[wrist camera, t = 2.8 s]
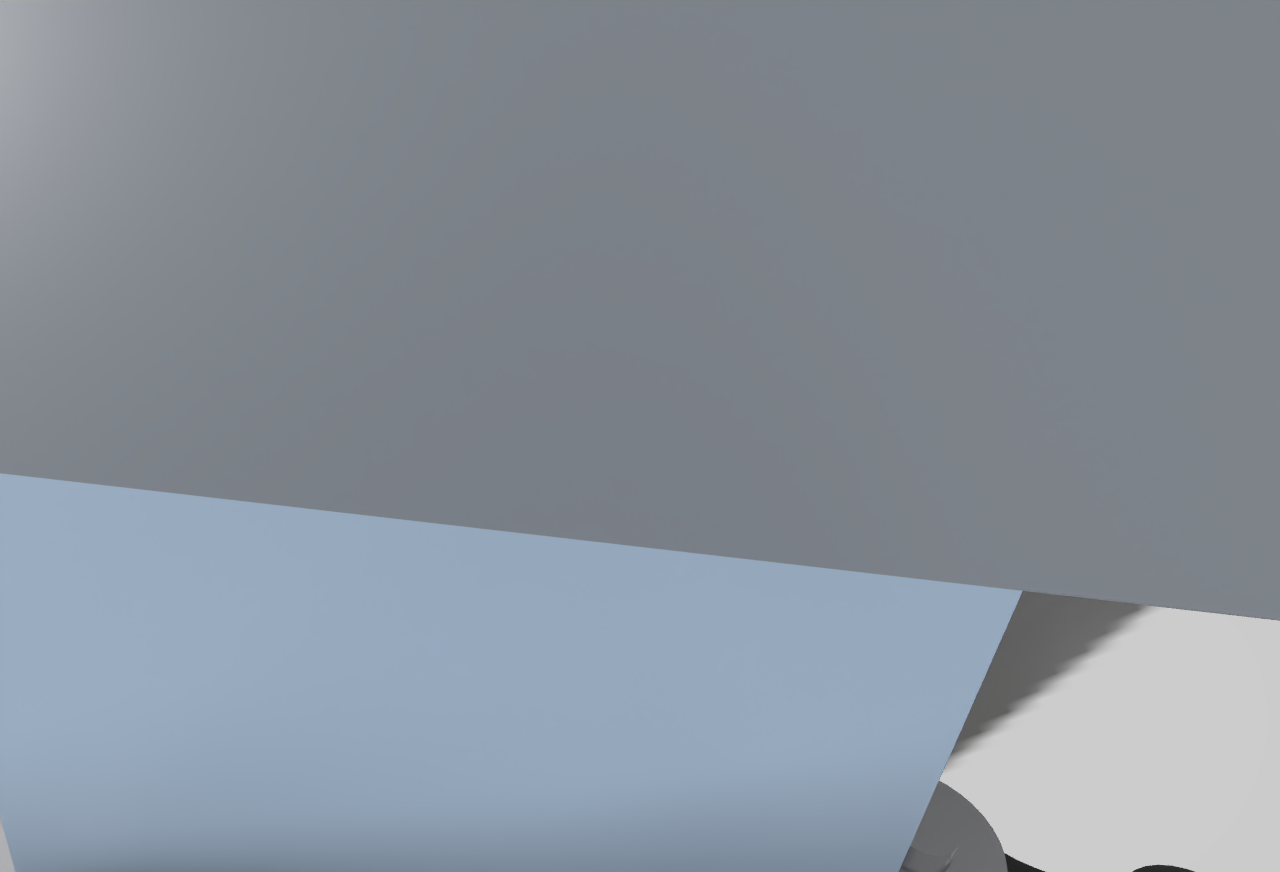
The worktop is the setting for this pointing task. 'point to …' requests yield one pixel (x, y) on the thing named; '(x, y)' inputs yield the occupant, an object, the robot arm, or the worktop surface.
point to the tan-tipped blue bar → (456, 696)
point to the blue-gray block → (668, 275)
